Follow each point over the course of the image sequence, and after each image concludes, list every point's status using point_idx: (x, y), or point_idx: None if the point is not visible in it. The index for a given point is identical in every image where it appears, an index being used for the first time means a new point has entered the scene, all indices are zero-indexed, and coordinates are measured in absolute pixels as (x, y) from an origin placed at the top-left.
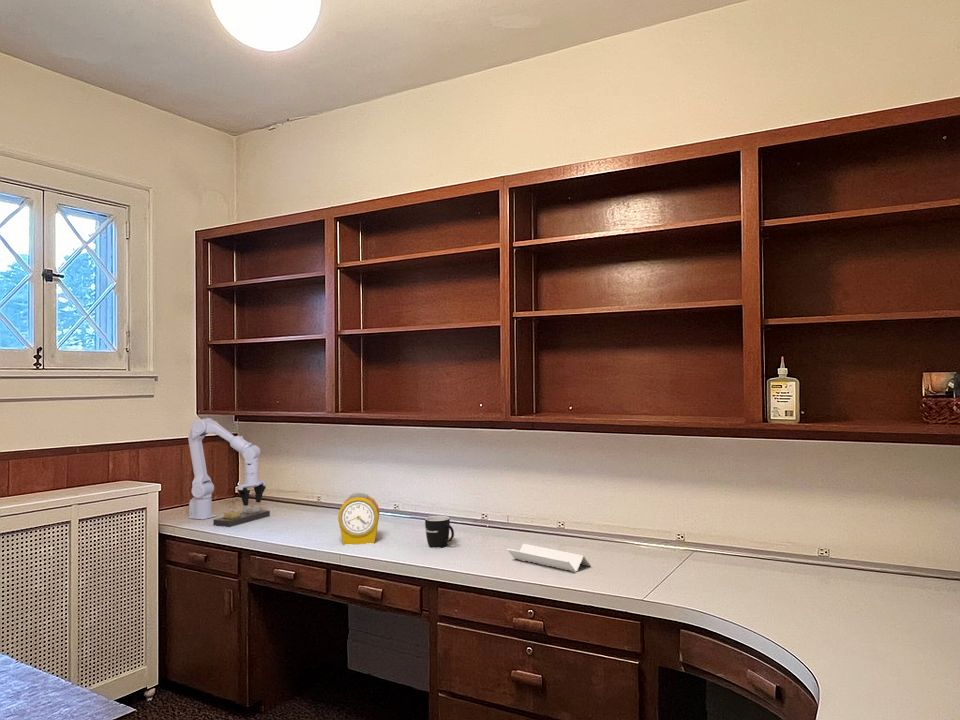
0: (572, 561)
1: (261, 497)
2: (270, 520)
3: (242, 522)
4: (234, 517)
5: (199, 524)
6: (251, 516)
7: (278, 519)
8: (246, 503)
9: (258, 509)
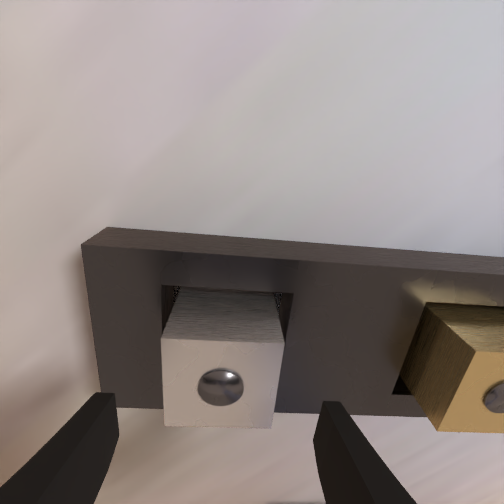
0: None
1: (43, 450)
2: (270, 76)
3: (437, 254)
4: (501, 322)
5: (468, 457)
6: (347, 259)
7: (199, 10)
8: (354, 428)
9: (187, 318)
